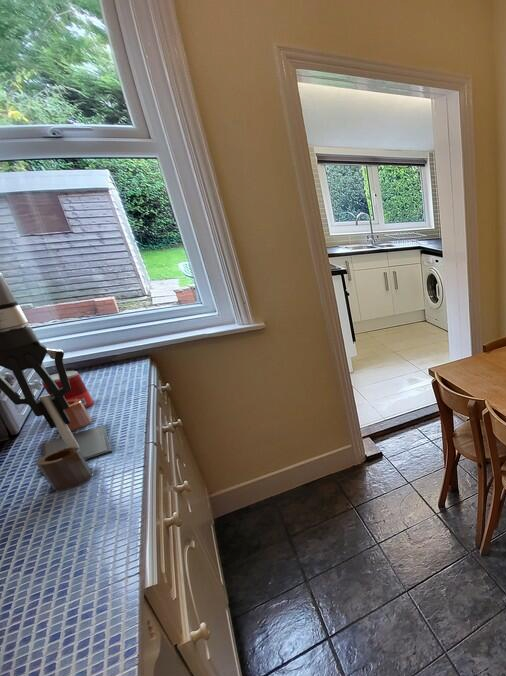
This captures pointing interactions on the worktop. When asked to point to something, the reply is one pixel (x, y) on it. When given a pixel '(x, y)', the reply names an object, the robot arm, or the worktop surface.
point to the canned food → (72, 388)
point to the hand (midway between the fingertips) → (60, 423)
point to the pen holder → (77, 414)
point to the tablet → (83, 443)
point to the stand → (64, 468)
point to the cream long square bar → (58, 421)
